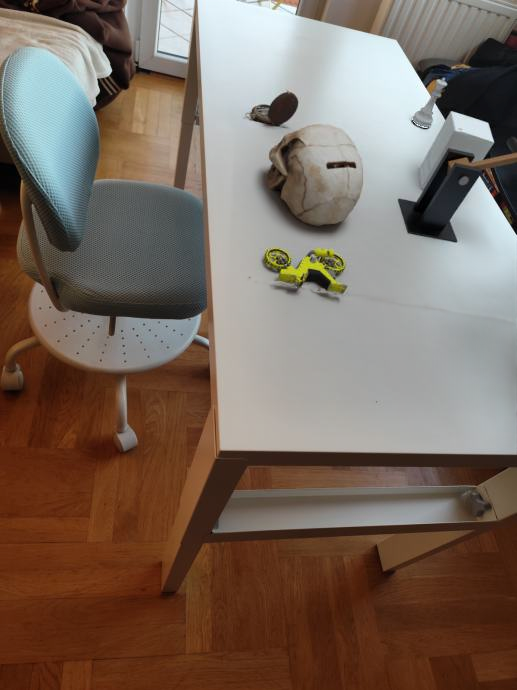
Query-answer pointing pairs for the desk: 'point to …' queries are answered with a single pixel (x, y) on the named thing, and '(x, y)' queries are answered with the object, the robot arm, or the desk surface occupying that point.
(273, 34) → the desk surface
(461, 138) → the white packaging box
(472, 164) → the lever
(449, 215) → the bracket
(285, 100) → the compass
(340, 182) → the coin bank
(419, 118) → the chess piece
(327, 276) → the toy motorcycle
